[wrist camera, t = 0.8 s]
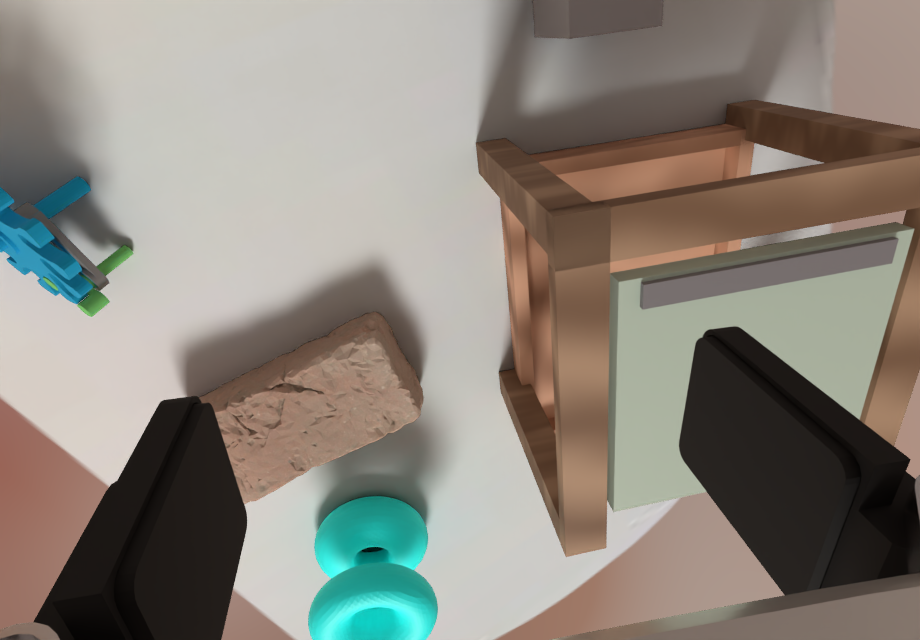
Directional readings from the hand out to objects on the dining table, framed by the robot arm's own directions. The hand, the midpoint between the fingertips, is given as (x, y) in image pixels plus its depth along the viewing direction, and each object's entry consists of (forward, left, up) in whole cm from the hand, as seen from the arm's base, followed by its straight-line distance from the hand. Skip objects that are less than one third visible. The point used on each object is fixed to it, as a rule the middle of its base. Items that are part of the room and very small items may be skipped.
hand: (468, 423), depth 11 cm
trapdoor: (+11, +15, -13) cm, 23 cm away
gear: (+1, -22, -29) cm, 36 cm away
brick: (+17, -10, -29) cm, 35 cm away
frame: (+13, +15, -29) cm, 35 cm away
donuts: (+33, -8, -29) cm, 45 cm away
